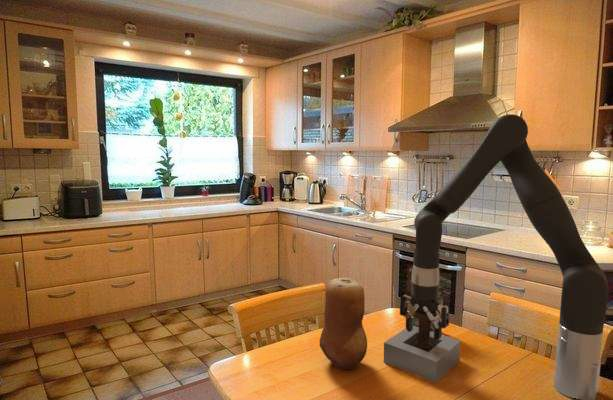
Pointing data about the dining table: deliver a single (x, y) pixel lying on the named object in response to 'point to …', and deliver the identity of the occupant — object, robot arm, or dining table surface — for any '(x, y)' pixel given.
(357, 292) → the butternut squash
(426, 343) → the bolt
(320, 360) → the dining table surface
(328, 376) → the dining table surface
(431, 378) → the socket block
